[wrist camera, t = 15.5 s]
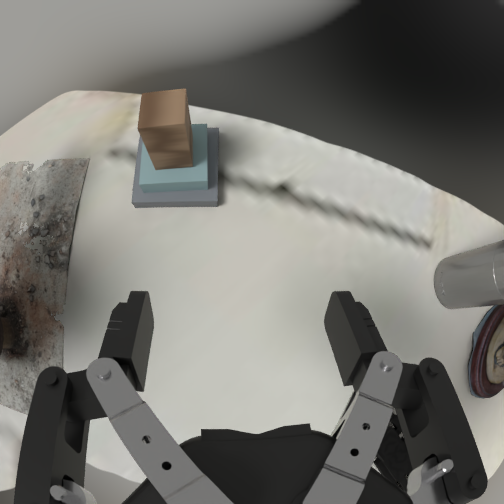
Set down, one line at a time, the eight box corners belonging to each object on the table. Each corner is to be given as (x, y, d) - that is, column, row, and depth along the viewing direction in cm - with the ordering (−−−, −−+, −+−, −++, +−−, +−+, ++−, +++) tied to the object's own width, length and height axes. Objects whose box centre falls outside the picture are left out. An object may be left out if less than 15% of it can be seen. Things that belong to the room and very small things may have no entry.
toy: (429, 484, 41) (378, 393, 42) (445, 495, 35) (399, 403, 36) (399, 510, 39) (337, 426, 40) (413, 524, 34) (354, 441, 34)
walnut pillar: (192, 135, 40) (185, 88, 31) (192, 166, 39) (184, 123, 30) (157, 138, 40) (142, 93, 30) (155, 170, 39) (137, 128, 29)
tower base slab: (218, 137, 47) (218, 127, 44) (217, 208, 45) (217, 201, 42) (144, 139, 46) (140, 129, 43) (136, 209, 44) (131, 202, 41)
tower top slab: (207, 134, 44) (207, 123, 41) (207, 189, 42) (207, 180, 39) (147, 138, 43) (144, 127, 40) (143, 193, 41) (139, 184, 38)
